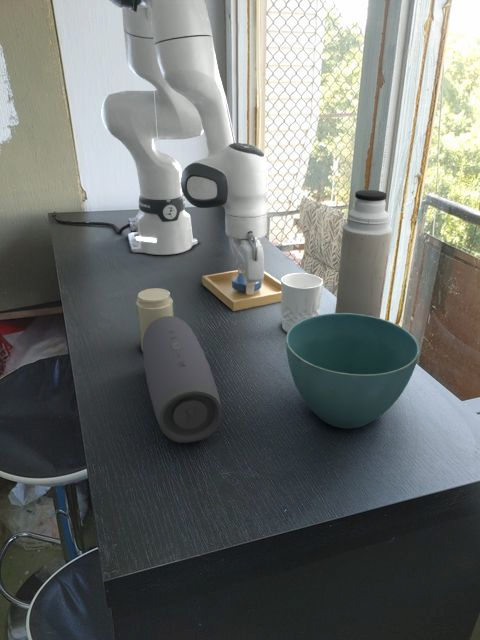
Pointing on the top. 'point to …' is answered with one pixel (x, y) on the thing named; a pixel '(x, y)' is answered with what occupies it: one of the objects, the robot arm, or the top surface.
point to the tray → (239, 299)
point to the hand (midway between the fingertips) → (245, 286)
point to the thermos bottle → (364, 255)
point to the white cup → (299, 298)
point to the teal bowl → (350, 366)
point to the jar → (152, 308)
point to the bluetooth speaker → (180, 381)
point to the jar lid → (242, 283)
